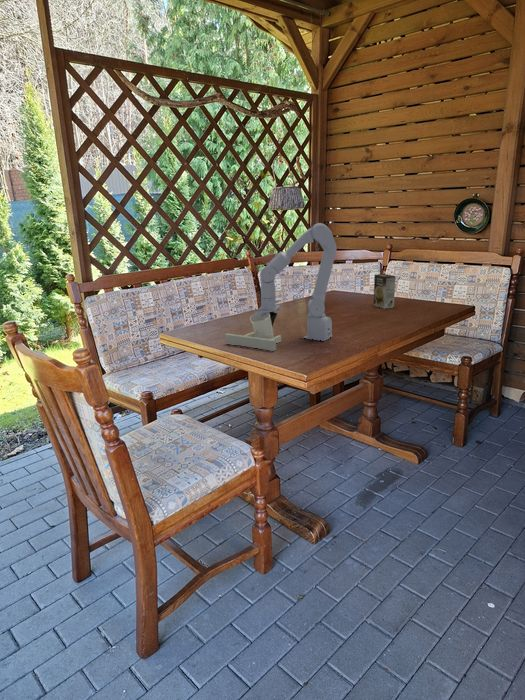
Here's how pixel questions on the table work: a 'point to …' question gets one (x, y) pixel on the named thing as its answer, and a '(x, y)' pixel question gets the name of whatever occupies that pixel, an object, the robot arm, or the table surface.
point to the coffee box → (384, 291)
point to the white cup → (262, 326)
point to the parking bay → (253, 341)
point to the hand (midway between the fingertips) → (269, 330)
